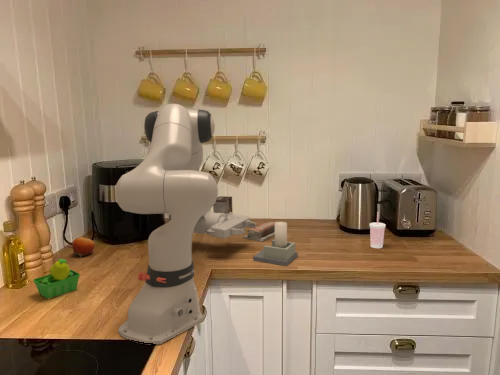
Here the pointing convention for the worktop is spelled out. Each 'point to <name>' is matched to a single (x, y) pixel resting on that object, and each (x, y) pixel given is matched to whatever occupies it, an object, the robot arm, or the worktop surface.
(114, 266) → the worktop surface
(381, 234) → the beverage cup
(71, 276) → the fruit basket
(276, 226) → the tall white cylinder
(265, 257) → the cradle jig
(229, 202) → the coffee box
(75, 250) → the fruit
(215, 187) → the robot arm
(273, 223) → the packaged product
